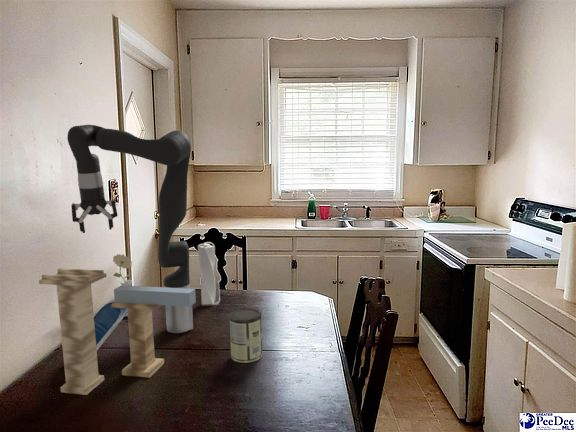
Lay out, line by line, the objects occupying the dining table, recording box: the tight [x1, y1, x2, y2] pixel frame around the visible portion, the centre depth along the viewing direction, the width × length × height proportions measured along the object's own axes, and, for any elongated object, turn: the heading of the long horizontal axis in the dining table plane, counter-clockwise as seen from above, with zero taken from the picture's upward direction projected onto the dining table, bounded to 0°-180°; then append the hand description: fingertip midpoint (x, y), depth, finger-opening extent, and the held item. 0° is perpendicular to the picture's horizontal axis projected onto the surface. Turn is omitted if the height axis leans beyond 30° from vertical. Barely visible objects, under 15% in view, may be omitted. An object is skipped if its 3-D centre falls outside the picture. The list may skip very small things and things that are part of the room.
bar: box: [113, 284, 197, 307], centre depth 128 cm, size 24×4×4 cm, turn 78°
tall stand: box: [38, 267, 108, 396], centre depth 121 cm, size 14×9×33 cm, turn 78°
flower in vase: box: [112, 253, 133, 317], centre depth 179 cm, size 13×11×25 cm
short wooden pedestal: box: [111, 302, 165, 379], centre depth 131 cm, size 14×9×22 cm, turn 78°
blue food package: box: [94, 299, 127, 351], centre depth 139 cm, size 6×12×25 cm
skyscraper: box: [197, 241, 221, 307], centre depth 189 cm, size 8×8×28 cm
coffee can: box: [228, 308, 263, 364], centre depth 140 cm, size 10×10×14 cm
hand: (97, 230), depth 152 cm, fingers open, 8 cm apart
